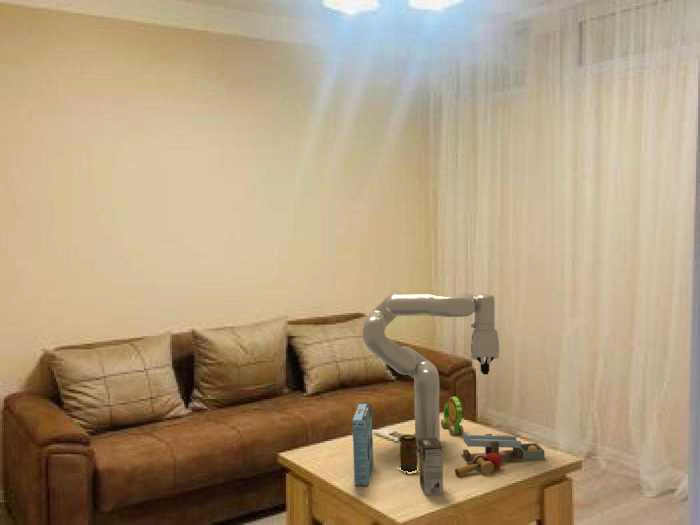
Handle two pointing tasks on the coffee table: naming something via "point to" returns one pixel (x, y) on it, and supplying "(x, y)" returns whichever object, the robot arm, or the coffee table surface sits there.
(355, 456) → the gum box
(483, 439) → the lever
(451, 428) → the toy lion
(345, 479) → the coffee table surface
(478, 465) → the kendama
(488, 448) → the stand
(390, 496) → the coffee table surface
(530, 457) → the green square tray
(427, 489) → the coffee box
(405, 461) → the condiment
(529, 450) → the ball
